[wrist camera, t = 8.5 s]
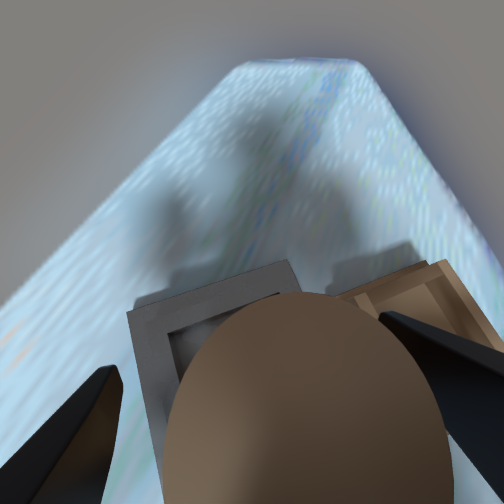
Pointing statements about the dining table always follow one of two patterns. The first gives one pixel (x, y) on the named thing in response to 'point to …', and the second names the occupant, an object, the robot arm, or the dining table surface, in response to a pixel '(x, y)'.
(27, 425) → the dining table surface
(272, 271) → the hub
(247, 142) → the dining table surface
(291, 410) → the wooden dowel rod
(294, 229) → the dining table surface
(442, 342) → the robot arm
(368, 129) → the dining table surface
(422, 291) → the stand
